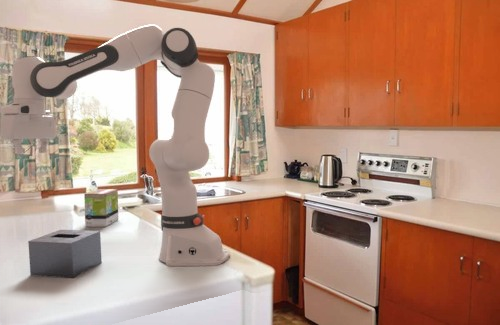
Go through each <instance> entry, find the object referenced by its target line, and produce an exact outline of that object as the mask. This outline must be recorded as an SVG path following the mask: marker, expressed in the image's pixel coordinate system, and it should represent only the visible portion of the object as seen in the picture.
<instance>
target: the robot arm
mask: <svg viewBox="0 0 500 325" xmlns="http://www.w3.org/2000/svg"><path fill="white" fill-rule="evenodd" d="M199 56H200V55H199V51H198V48H197V43H196V41H195V39H194V37H193V35H192V34H191V33H190V32H189V31H188V30H187V29H186V28H185V29H184V28H182V27H173V28H170V29H168V30H167V31H166V32H164V31H163V30H162V28H161V27H159V26H158V25H156V24H148V25H143V26H139V27H138V28H134V29H132V30H129V31H126V32H125V33H122V34H120V35H118V36H116V37H114V38H112V39H110V40H109V41H107V42H105V43H102V44H101V45H99V46H97V47H95V48H93V49H90V50H87V51H85V52H83V53H80V54H77V55H75V56H73V57H70V58H68V59H64V60H61V61H45V60H44V59H42V58H40V57H39V56H35V55H33V56H31V55H28V56H27V55H26V56H22V57H19V58H16V59H15V60H14V62H13V65H12V74H11V75H12V78H11V79H12V88H13V92H14V94H13V99H12V100H13V102H12V103H10V104H7V105H4V106H2V107H0V114H1V115H2V116H1V117H0V136H1V137H2V138H3V139H4V140H12V145H13V146H14V148H15V151H16V155H25V153H26V152H25V151H26V149H25V148H23V147H24V146H22V143H23V140H36V139H39V142H40V146H39V147H38V148H37V149H38V153H40V154H42V153H45V154H46V153H47V147H48V144H49V142H50V141H49V140H50V139H56V138H57V135H58V132H57V131H58V130H57V125H56V119H55V117H54V115H53V113H52V112H51V111H50V110H46V98H51V99H52V98H53V99H56V100H65V99H69V98H71V97H72V96H74V94H75V93H76V91H77V86H78V84H77V83H78V82H77V81H78V80H80V79H82V78H85V77H87V76H90V75H92V74H94V73H98V72H101V71H117V72H125V71H126V72H127V71H128V70H129V71H131V70H133V69H136V68H138V67H140V66H142V65H145V64H147V63H149V62H151V61H155V60H158V61H159V60H160V63H161V65H163V67H165V68H166V70H167V71H168V72H170V74H172V75H173V76H174V77H177V78H180V83H179V86H178V88H177V89H178V90H177V93H176V96H175V100H174V103H173V106H172V110H171V117H172V119H173V132H172V135H166V136H162V137H159V138H157V139H155V140H154V141H153V142H152V143H151V145H150V146H149V149H148V156H149V159H150V161H151V162H152V163H153V165H154V168H155V171H156V176H157V178H158V182H159V187H160V192H161V212H162V214H161V216H160V219H161V220H160V228H161V231H162V238H161V247H160V251H159V255H158V260H159V261H160V262H161V263H162V262H163V263H165V265H166V266H168V267H182V266H183V267H186V266H187V267H188V266H189V267H191V266H193V267H195V266H196V267H197V266H200V267H201V266H202V267H203V266H218V265H220V264H223V263H224V262H226V261H227V260H228V259H229V257H230V251H229V250H228V249H224V248H223V244H222V239H221V237H220V235H218V234H217V233H216V232H214V231H213V230H212V229H210V228H209V227H207V225H205V224H204V219H205V214H203V215H202V214H201V213H199V212H198V195H197V193H198V192H197V187H196V185H195V184H194V182H193V181H192V178H191V175H190V172H193V171H194V172H195V171H197V170H200V169H203V168H204V167H205V166H206V164H207V163H208V161H209V158H210V150H209V147H208V146H209V145H208V144H207V142H206V137H205V130H206V128H205V127H206V121H207V117H208V113H209V109H210V106H211V101H212V99H213V94H214V89H215V82H216V74H215V73H216V72H215V70H214V69H213V68H212V67H211V66H210V65H208V64H206V63H204V62H202V61H200V60H199Z"/></svg>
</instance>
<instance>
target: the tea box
mask: <svg viewBox="0 0 500 325" xmlns="http://www.w3.org/2000/svg"><path fill="white" fill-rule="evenodd" d="M117 221H119V193H118V189H117V188H111V189H110V188H108V189H105V188H104V189H101V188H99V189H95V190H92V191H89V192H86V193H84V227H86V228H87V227H89V228H90V227H91V228H98V227H99V228H100V227H109V225H111V224H113V223H114V222H117Z"/></svg>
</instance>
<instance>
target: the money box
mask: <svg viewBox="0 0 500 325" xmlns="http://www.w3.org/2000/svg"><path fill="white" fill-rule="evenodd" d="M101 241H102V240H101V231H100V230H83V229H80V230H79V229H78V230H77V229H59V230H56V231H53V232H50V233H47V234H46V235H45V234H44V235H42V236H39V237H36V238H34V239H31V240H29V241H28V243H27V244H28V257H29V258H28V259H29V272H30V273H29V274H30V275H29V276H31V277H32V276H33V277H34V276H36V277H50V278H53V277H54V278H63V279H64V278H66V279H67V278H68V279H74V278H76V277H78V276H79V275H82V274H83V273H85V272H87V271H89V270H91V269H93V268H94V267H96V266H98V265H100V264H101V263H102V243H101Z"/></svg>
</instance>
